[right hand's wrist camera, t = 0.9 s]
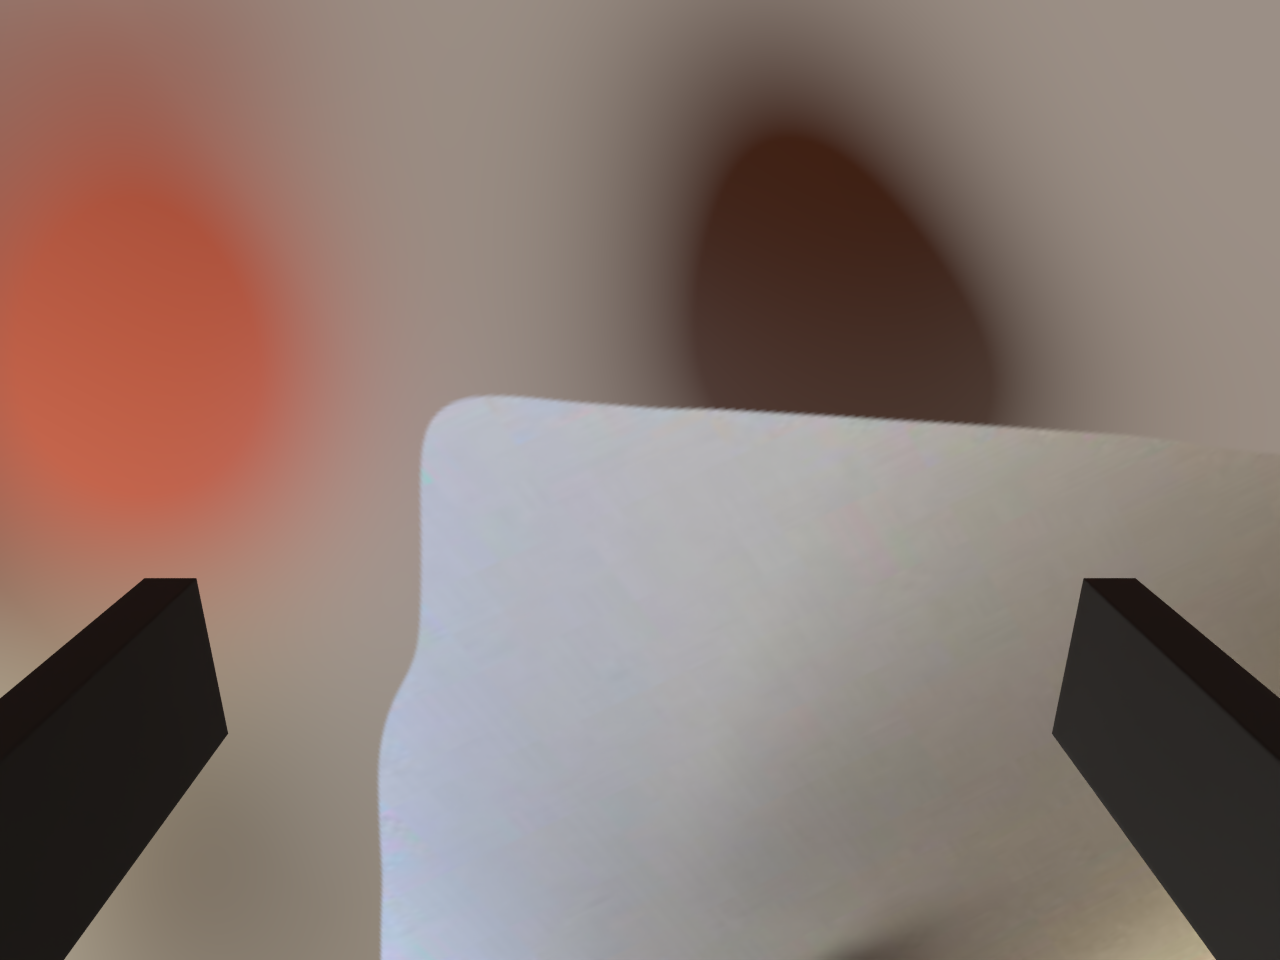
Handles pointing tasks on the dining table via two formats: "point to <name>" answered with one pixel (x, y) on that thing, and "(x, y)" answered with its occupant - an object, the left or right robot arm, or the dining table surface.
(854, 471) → the dining table surface
